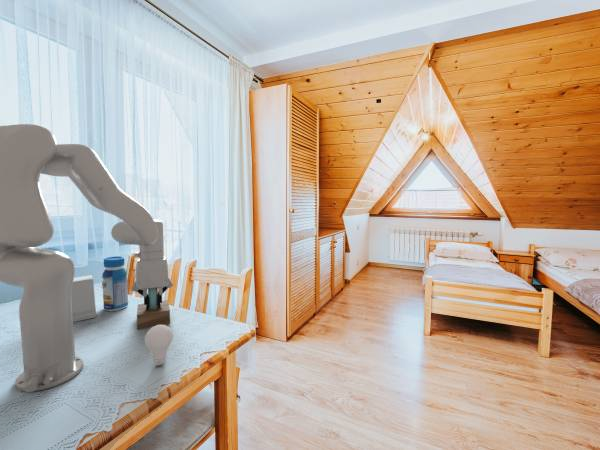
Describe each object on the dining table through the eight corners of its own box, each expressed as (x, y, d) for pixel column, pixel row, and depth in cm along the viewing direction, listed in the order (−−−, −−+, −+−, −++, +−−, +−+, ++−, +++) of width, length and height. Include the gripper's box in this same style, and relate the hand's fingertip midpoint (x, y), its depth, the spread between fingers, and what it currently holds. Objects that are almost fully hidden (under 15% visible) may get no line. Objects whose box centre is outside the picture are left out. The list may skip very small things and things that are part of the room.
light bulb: (166, 355, 80) (165, 318, 79) (178, 364, 76) (177, 325, 75) (141, 365, 75) (139, 326, 74) (152, 376, 71) (151, 334, 70)
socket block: (170, 323, 99) (169, 310, 99) (137, 329, 95) (136, 315, 94) (168, 313, 108) (168, 300, 108) (138, 317, 103) (137, 304, 103)
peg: (158, 316, 100) (157, 283, 99) (148, 317, 99) (147, 284, 98) (158, 312, 103) (157, 280, 102) (148, 314, 102) (147, 282, 100)
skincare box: (95, 312, 107) (93, 274, 105) (96, 318, 102) (94, 278, 101) (66, 318, 102) (64, 277, 100) (66, 324, 97) (63, 282, 95)
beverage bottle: (126, 310, 109) (124, 259, 107) (100, 313, 106) (97, 261, 104) (130, 302, 117) (128, 255, 115) (106, 304, 114) (104, 256, 112)
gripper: (123, 259, 92) (125, 313, 94) (178, 255, 99) (179, 305, 101) (125, 254, 98) (127, 305, 100) (176, 251, 106) (177, 298, 108)
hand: (153, 305), depth 101 cm, fingers closed on peg, 3 cm apart
